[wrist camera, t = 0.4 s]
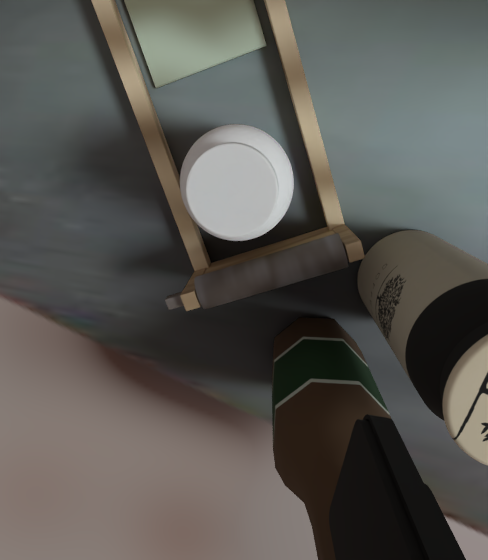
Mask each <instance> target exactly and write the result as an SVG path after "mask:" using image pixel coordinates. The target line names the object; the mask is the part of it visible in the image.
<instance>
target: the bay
mask: <svg viewBox="0 0 488 560" xmlns="http://www.w3.org/2000/svg"><path fill="white" fill-rule="evenodd" d="M91 1H92V3H93V6H94V8H95V11H96V14H97V16H98V19H99V22H100V24H101V27H102V29H103V32H104V35H105V37H106V40H107V43H108V45H109V48H110V50H111V53H112V56H113V58H114V61H115V64H116V66H117V69H118V71H119V74H120V77H121V79H122V82H123V85H124V87H125V90H126V92H127V95H128V98H129V100H130V103H131V106H132V108H133V111H134V113H135V116H136V119H137V121H138V124H139V127H140V129H141V132H142V134H143V137H144V140H145V142H146V145H147V148H148V150H149V153H150V155H151V158H152V161H153V163H154V166H155V169H156V171H157V174H158V176H159V179H160V182H161V184H162V187H163V190H164V192H165V195H166V197H167V200H168V203H169V205H170V208H171V210H172V213H173V216H174V218H175V221H176V224H177V226H178V229H179V231H180V234H181V237H182V239H183V242H184V245H185V247H186V250H187V252H188V255H189V258H190V260H191V263H192V266H193V268H194V273H193V275H192V276H191V278H190V280H189V281H188V283H187V285H186V286H185V288H184V290H183V291H182V292H179V293H176V294H173V295H169V296H167V298H166V299H165V301H166V304H167V306H168V309H169V310H171V309H174V308H177V307H181V306H184V307H185V309H186V311H189V310H192V309H196V308H199V307H200V306H202V307H203V308H204V309H209V308H212V307H215V306H219V305H222V304H226V303H229V302H232V301H236V300H239V299H242V298H246V297H249V296H253V295H256V294H259V293H263V292H266V291H269V290H273V289H276V288H280V287H283V286H286V285H290V284H293V283H296V282H300V281H303V280H307V279H310V278H313V277H317V276H320V275H323V274H327V273H330V272H334V271H337V270H340V269H344V268H347V267H348V261H349V262H353V261H357V260H360V259H364V258H365V255H364V252H363V248H362V244H361V240H360V239H359V238H358V237H357V236H356V235H355V234H354V233H353V232H352V231H351V230H350V229H349V228H348V227H347V226H346V225H345V224H344V220H343V216H342V212H341V209H340V205H339V201H338V197H337V194H336V190H335V186H334V182H333V179H332V175H331V171H330V167H329V164H328V160H327V156H326V152H325V149H324V145H323V141H322V138H321V134H320V130H319V126H318V123H317V119H316V115H315V111H314V108H313V104H312V100H311V96H310V93H309V89H308V85H307V81H306V78H305V74H304V70H303V66H302V63H301V59H300V55H299V51H298V48H297V44H296V40H295V37H294V33H293V29H292V25H291V22H290V18H289V14H288V10H287V7H286V3H285V0H264V2H265V6H266V10H267V13H268V17H269V20H270V24H271V28H272V31H273V35H274V38H275V42H276V45H277V49H278V53H279V56H280V60H281V63H282V67H283V70H284V74H285V78H286V81H287V85H288V88H289V92H290V95H291V99H292V103H293V106H294V110H295V113H296V117H297V120H298V124H299V128H300V131H301V135H302V138H303V142H304V146H305V149H306V153H307V156H308V160H309V163H310V167H311V171H312V174H313V178H314V181H315V185H316V188H317V192H318V196H319V199H320V203H321V206H322V210H323V213H324V217H325V221H326V224H327V227H325V228H321V229H318V230H315V231H312V232H309V233H305V234H302V235H299V236H296V237H293V238H289V239H286V240H283V241H280V242H277V243H273V244H270V245H267V246H264V247H261V248H257V249H254V250H251V251H248V252H245V253H241V254H238V255H235V256H232V257H229V258H225V259H222V260H219V261H216V262H213V263H211V261H210V258H209V256H208V253H207V250H206V247H205V245H204V242H203V239H202V237H201V234H200V231H199V228H198V226H197V223H196V222H195V221H194V220H193V219H192V217H191V216H190V215H189V213H188V211H187V209H186V207H185V205H184V203H183V200H182V196H181V191H180V177H179V174H178V171H177V168H176V166H175V163H174V160H173V158H172V155H171V152H170V149H169V147H168V144H167V141H166V139H165V136H164V133H163V130H162V128H161V125H160V122H159V119H158V117H157V114H156V111H155V109H154V106H153V103H152V100H151V98H150V95H149V92H148V90H147V87H146V84H145V81H144V79H143V76H142V73H141V70H140V68H139V65H138V62H137V60H136V57H135V54H134V51H133V49H132V46H131V43H130V41H129V38H128V35H127V32H126V30H125V27H124V24H123V21H122V19H121V16H120V13H119V11H118V8H117V5H116V2H115V0H91ZM124 1H125V4H126V7H127V10H128V12H129V15H130V18H131V21H132V23H133V26H134V29H135V32H136V34H137V37H138V40H139V43H140V46H141V48H142V51H143V54H144V57H145V59H146V62H147V65H148V68H149V70H150V73H151V76H152V79H153V81H154V84H155V87H156V88H159V87H161V86H164V85H167V84H169V83H172V82H174V81H177V80H180V79H182V78H185V77H187V76H190V75H193V74H195V73H198V72H200V71H203V70H206V69H208V68H211V67H213V66H216V65H219V64H221V63H224V62H226V61H229V60H232V59H234V58H237V57H239V56H242V55H244V54H247V53H250V52H252V51H255V50H257V49H260V48H263V47H265V46H266V42H265V39H264V35H263V32H262V28H261V25H260V21H259V18H258V14H257V11H256V7H255V4H254V0H124ZM347 259H348V260H347Z"/></svg>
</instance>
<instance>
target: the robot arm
mask: <svg viewBox="0 0 488 560" xmlns="http://www.w3.org/2000/svg"><path fill="white" fill-rule="evenodd" d="M329 526H330V531H331V537H332V542H333V548H334V553H335V558H336V560H466V559H465V557H464V555H463V553H462V551H461V549H460V547H459V545H458V543H457V541H456V539H455V537H454V535H453V533H452V531H451V529H450V527H449V525H448V523H447V521H446V519H445V517H444V515H443V513H442V511H441V509H440V507H439V505H438V503H437V501H436V499H435V497H434V495H433V493H432V491H431V490H430V488H429V487H428V486H427V485H426V484H424V483H423V481H422V479H421V477H420V475H419V473H418V471H417V469H416V467H415V465H414V463H413V461H412V459H411V457H410V455H409V452H408V450H407V448H406V446H405V444H404V442H403V440H402V438H401V436H400V434H399V432H398V430H397V428H396V426H395V424H394V422H393V421H392V419H390V418H386V417H380V416H374V415H368V414H367V415H365V416H364V418H363V420H361V419H357V420H356V421H355V424H354V427H353V430H352V434H351V437H350V441H349V444H348V448H347V451H346V454H345V458H344V461H343V465H342V468H341V472H340V475H339V478H338V482H337V485H336V489H335V492H334V496H333V499H332V502H331V506H330V511H329Z"/></svg>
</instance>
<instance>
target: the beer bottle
mask: <svg viewBox="0 0 488 560" xmlns="http://www.w3.org/2000/svg"><path fill="white" fill-rule="evenodd" d="M272 414H273V451H274V460H275V468H276V470H277V471H278V473H279V475H280V477H281V478H282V480H283V482H284V484H285V486H287V487H288V488H289V489H290V490H291V491H292V492H293V493H294V494H295V495H296V496H297V497H299V498H300V499H301V500H302V501H303V502H304V504H305V506H306V509H307V512H308V515H309V519H310V522H311V525H312V529H313V534H314V540H315V545H316V550H317V556H318V560H336V558H335V553H334V548H333V542H332V537H331V531H330V526H329V511H330V506H331V502H332V499H333V496H334V492H335V489H336V485H337V482H338V478H339V475H340V472H341V468H342V465H343V461H344V458H345V454H346V451H347V448H348V444H349V441H350V437H351V434H352V430H353V427H354V424H355V421H356V420H357V419H361V420H363V418H364V416H365V415H367V414H368V415H374V416H380V417H386V418H390V419H391V416H390V414H389V412H388V410H387V408H386V405H385V403H384V401H383V399H382V397H381V394H380V392H379V390H378V388H377V385H376V383H375V381H374V379H373V377H372V374H371V372H370V370H369V368H368V366H367V363H366V361H365V359H364V357H363V355H362V352H361V350H360V349H359V347H358V345H357V344H356V342H355V341H354V340H353V339H352V338H351V337H350V336H349V335H348V333H347V332H346V331H345V330H344V329H343V328H342V327H341V326H340V325H339V324H338V323H337V322H336V321H335V320H334V319H326V318H306V317H299V318H298V319H297V320H296V321H295V322H293V323H292V324H291V325H290V326H288V327H287V328H286V329H285V330H284V331H282V332H281V333H280V334H279V335H277V336H276V337H275V339H274V351H273V368H272Z"/></svg>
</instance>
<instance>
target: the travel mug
mask: <svg viewBox="0 0 488 560" xmlns="http://www.w3.org/2000/svg"><path fill="white" fill-rule="evenodd" d="M357 283H358V291H359V294H360V297H361V299H362V301H363V303H364V304H365V306H366V308H367V309H368V311H369V312H370V314H371V316H372V317H373V319H374V321H375V322H376V324H377V326H378V327H379V329H380V331H381V332H382V334H383V336H384V337H385V339H386V340H387V342H388V344H389V345H390V347H391V349H392V350H393V352H394V354H395V355H396V357H397V359H398V360H399V362H400V363H401V365H402V367H403V368H404V370H405V372H406V373H407V375H408V377H409V378H410V380H411V382H412V383H413V385H414V387H415V388H416V390H417V391H418V393H419V395H420V396H421V398H422V400H423V401H424V403H425V404H426V405H427V407H428V408H429V409H430V410H431V411H432V412H433V413H434V414H435V415H437V416H438V417H439V418H441V419H442V420H444V421H445V424H446V427H447V429H448V431H449V433H450V435H451V437H452V438H453V440H454V441H455V442H456V444H457V445H458V446H459V447H460V448H461V449H462V450H463V451H464V452H465V453H466V454H468V455H469V456H470V457H472V458H473V459H475V460H477V461H479V462H481V463H483V464H485V465H487V466H488V264H487V263H485V262H483V261H481V260H479V259H477V258H476V257H474V256H472V255H470V254H468V253H466V252H464V251H463V250H461V249H459V248H457V247H455V246H453V245H451V244H450V243H448V242H446V241H444V240H442V239H440V238H438V237H437V236H435V235H433V234H430V233H428V232H424V231H418V230H406V231H400V232H396V233H393V234H391V235H388V236H386V237H384V238H383V239H381V240H380V241H378V242H377V243H376V244H375V245H374V246H373V247H372V248H371V249H370V250H369V251H368V252H367V254H366V255H365V258H364V259H363V260H362V262H361V265H360V268H359V271H358V279H357Z"/></svg>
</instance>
